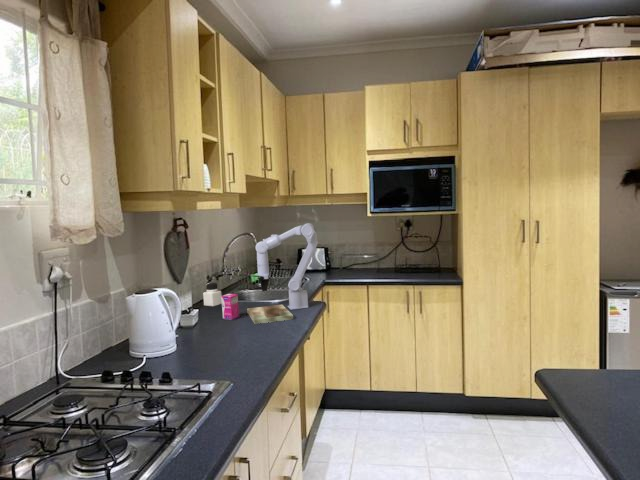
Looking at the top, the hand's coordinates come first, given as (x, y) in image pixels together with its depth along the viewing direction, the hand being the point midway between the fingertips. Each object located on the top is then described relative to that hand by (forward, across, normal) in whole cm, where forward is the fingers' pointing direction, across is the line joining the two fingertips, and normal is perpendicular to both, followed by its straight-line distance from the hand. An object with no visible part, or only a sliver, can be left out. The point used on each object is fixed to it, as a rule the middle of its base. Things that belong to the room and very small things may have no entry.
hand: (264, 290), depth 237 cm
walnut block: (+7, +23, -1) cm, 24 cm away
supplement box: (+10, +11, -19) cm, 24 cm away
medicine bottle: (+10, -25, -24) cm, 36 cm away
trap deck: (+9, +15, -1) cm, 18 cm away
